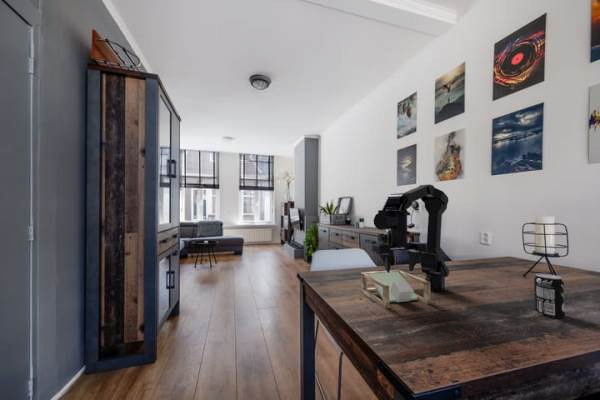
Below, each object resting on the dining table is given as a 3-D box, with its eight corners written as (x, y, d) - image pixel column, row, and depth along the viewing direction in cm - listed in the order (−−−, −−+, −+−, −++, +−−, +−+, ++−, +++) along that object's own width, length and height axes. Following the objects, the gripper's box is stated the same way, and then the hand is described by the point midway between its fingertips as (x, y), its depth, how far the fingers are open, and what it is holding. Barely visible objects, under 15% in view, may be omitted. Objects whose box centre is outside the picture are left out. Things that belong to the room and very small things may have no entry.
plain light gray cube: (401, 290, 90) (405, 280, 88) (409, 301, 86) (413, 291, 84) (389, 290, 89) (393, 281, 87) (396, 302, 85) (401, 292, 83)
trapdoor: (397, 273, 100) (398, 271, 99) (416, 299, 88) (417, 297, 88) (368, 275, 97) (369, 273, 96) (384, 302, 85) (385, 300, 85)
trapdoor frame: (400, 287, 102) (399, 269, 102) (431, 304, 85) (430, 282, 85) (360, 291, 98) (360, 272, 98) (385, 308, 81) (384, 285, 81)
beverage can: (556, 311, 78) (554, 273, 79) (570, 320, 72) (569, 279, 73) (530, 308, 81) (529, 272, 81) (542, 317, 74) (541, 277, 75)
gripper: (407, 226, 98) (407, 265, 98) (364, 227, 94) (365, 267, 94) (427, 228, 87) (428, 272, 87) (380, 229, 83) (380, 275, 83)
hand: (399, 271), depth 88 cm, fingers open, 9 cm apart
